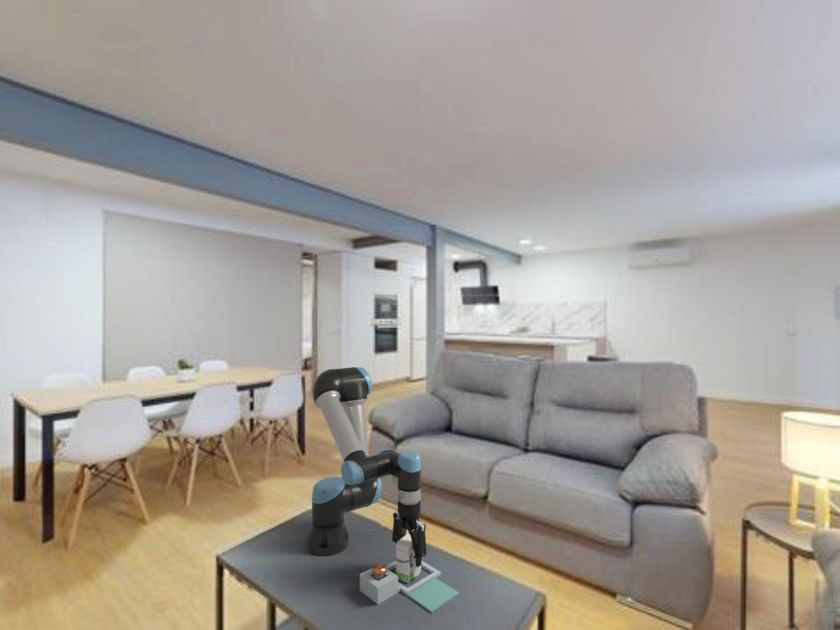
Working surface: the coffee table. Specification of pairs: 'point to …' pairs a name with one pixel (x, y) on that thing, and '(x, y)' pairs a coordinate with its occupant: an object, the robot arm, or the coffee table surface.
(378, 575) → the plunger
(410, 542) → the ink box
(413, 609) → the coffee table surface
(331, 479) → the robot arm
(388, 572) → the housing
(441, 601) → the mat
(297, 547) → the coffee table surface
